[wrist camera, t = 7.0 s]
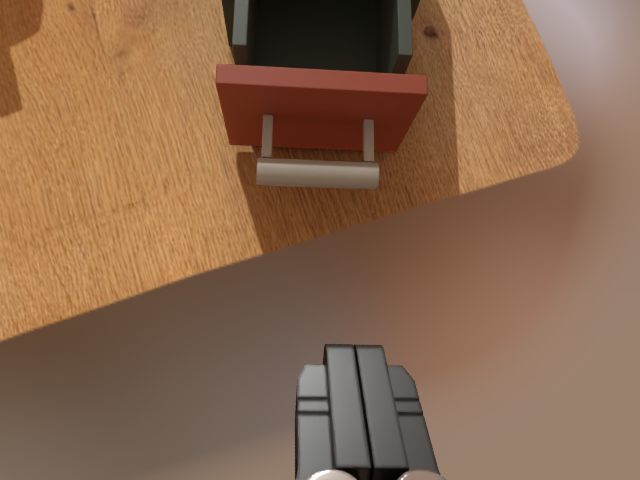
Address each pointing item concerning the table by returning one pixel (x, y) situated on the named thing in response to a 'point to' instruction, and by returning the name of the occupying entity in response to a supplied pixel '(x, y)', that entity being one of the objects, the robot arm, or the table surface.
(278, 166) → the drawer
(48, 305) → the table surface
